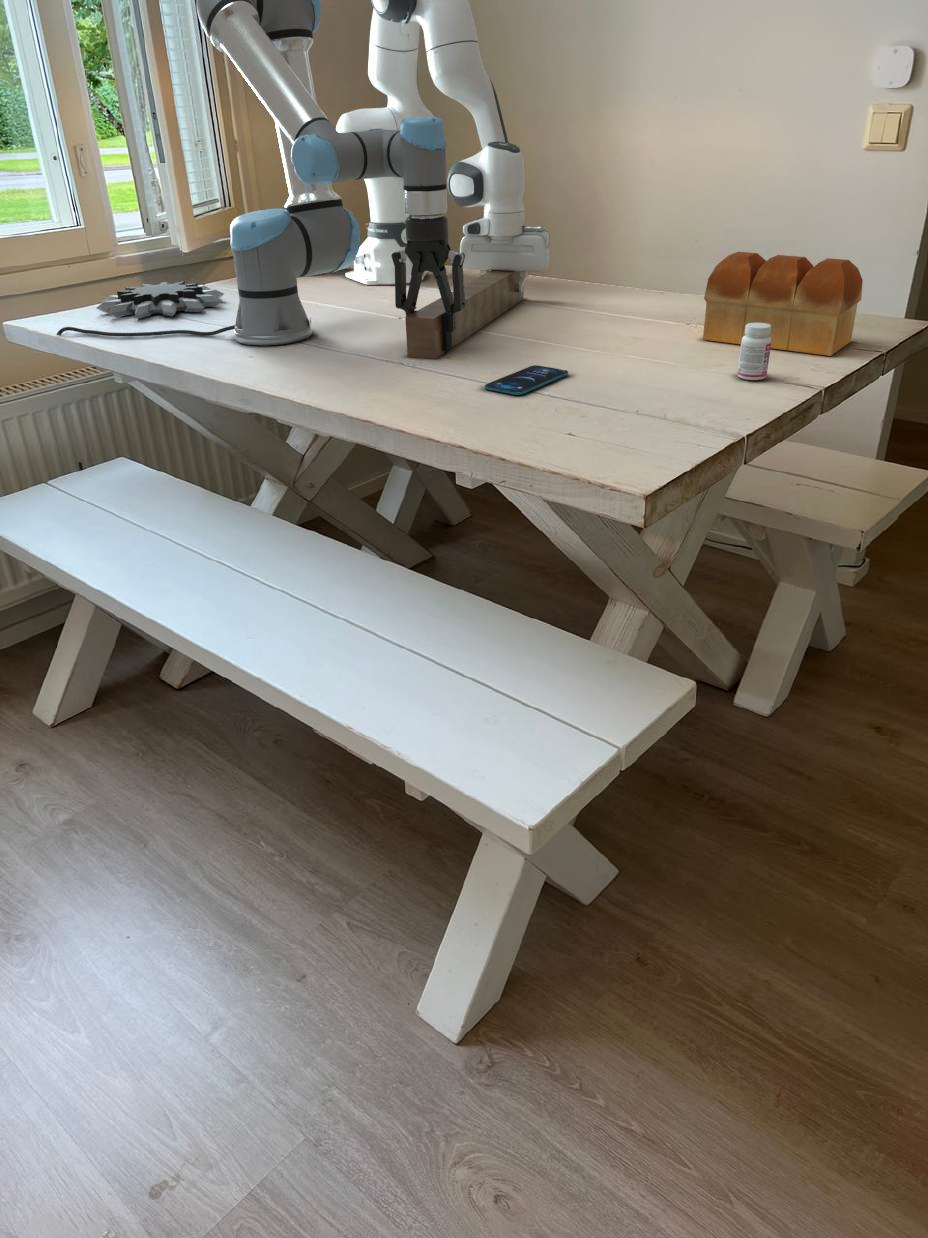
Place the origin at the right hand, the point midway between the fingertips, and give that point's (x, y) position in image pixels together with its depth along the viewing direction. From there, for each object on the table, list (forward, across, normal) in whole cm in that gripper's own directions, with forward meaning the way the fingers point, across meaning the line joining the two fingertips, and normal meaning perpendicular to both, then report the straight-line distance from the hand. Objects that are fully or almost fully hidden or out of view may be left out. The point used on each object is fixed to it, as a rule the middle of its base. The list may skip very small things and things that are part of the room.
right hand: (504, 291), depth 213 cm
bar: (+3, 0, +22) cm, 22 cm away
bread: (+3, -61, +21) cm, 65 cm away
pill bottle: (+3, -59, +47) cm, 76 cm away
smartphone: (+3, -24, +60) cm, 64 cm away
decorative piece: (+3, +77, +22) cm, 80 cm away
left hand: (+2, 0, +44) cm, 44 cm away
